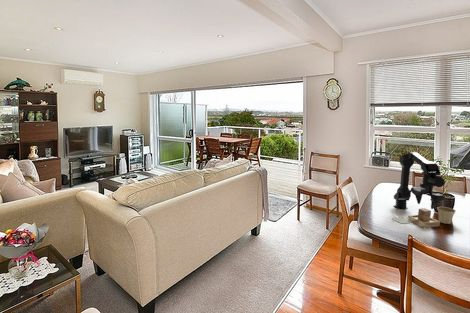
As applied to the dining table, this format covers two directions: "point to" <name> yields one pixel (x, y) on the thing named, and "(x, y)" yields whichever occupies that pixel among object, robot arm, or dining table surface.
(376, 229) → the dining table surface
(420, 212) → the walnut block
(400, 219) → the pad
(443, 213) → the flower pot
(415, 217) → the oak box
